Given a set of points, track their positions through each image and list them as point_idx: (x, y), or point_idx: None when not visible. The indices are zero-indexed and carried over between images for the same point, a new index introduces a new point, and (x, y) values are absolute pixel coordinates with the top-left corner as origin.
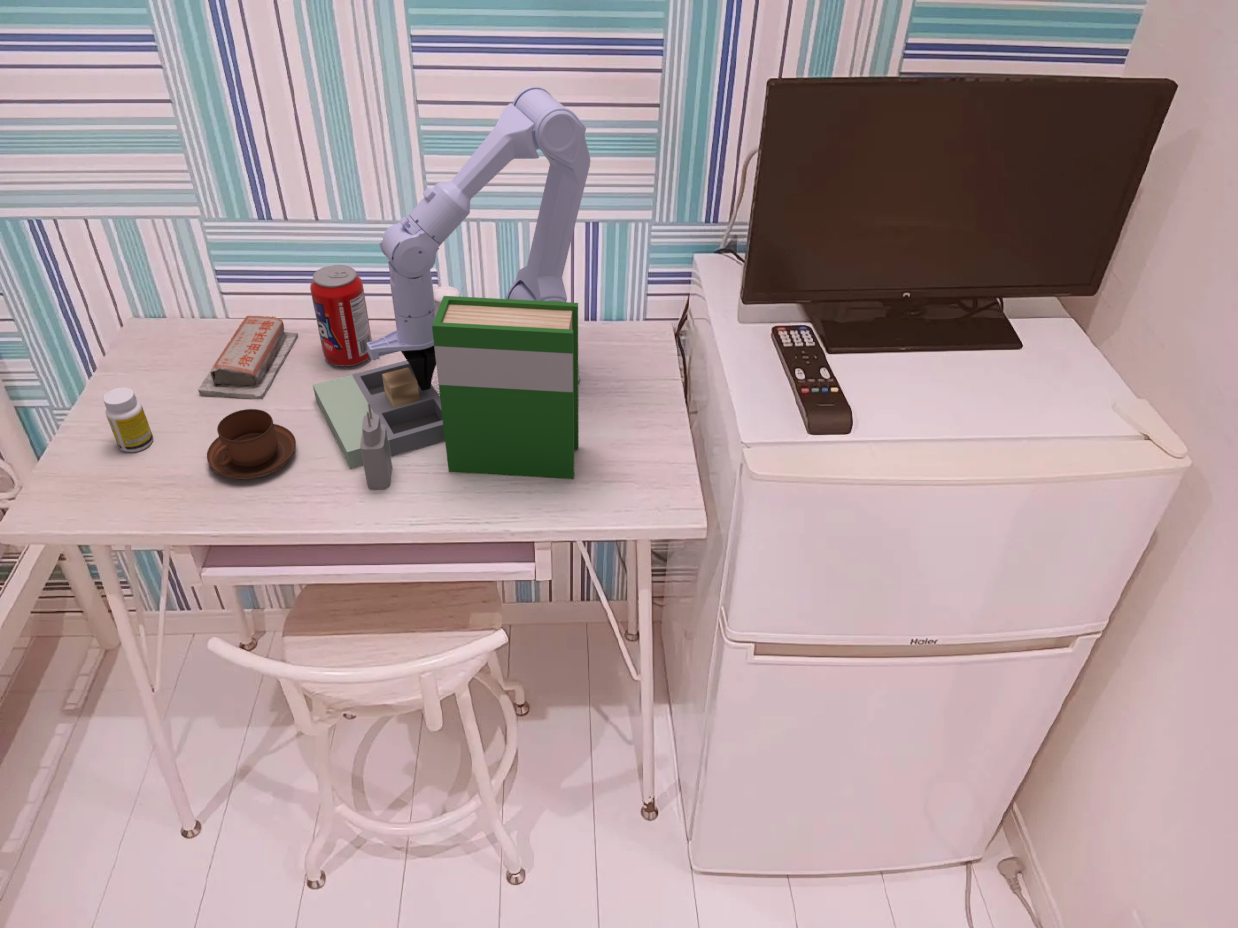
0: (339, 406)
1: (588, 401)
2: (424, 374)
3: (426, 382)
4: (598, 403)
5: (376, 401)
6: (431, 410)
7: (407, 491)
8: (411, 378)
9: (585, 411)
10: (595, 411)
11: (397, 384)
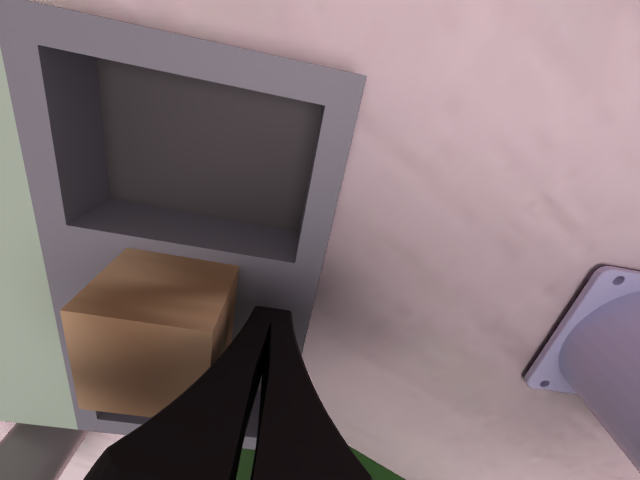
0: None
1: (596, 447)
2: (244, 437)
3: (261, 385)
4: (602, 459)
5: (79, 272)
6: None
7: None
8: None
9: (558, 463)
10: (571, 470)
11: (116, 402)
